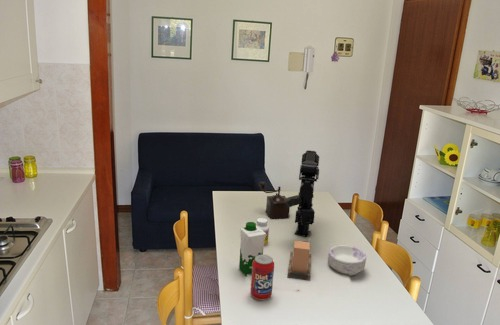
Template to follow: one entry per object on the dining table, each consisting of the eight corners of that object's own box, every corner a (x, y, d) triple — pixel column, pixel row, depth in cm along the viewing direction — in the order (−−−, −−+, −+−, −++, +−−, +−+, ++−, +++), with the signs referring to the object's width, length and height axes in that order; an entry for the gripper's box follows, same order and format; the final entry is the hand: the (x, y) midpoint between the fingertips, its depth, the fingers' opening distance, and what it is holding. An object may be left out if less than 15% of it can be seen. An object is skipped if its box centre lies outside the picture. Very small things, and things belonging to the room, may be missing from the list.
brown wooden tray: (289, 258, 178) (290, 251, 177) (310, 261, 177) (311, 254, 176) (286, 280, 161) (287, 272, 160) (309, 284, 160) (310, 275, 159)
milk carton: (254, 264, 172) (258, 220, 167) (265, 274, 165) (269, 229, 159) (235, 268, 168) (238, 223, 163) (245, 279, 161) (248, 232, 155)
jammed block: (292, 267, 169) (294, 240, 165) (306, 269, 168) (309, 242, 164) (291, 274, 163) (293, 247, 160) (306, 277, 162) (309, 249, 159)
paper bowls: (319, 263, 176) (321, 247, 174) (349, 258, 182) (351, 242, 180) (340, 282, 162) (343, 265, 160) (371, 276, 168) (374, 259, 166)
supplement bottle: (266, 250, 184) (268, 224, 180) (251, 248, 185) (253, 222, 182) (268, 243, 190) (270, 218, 187) (254, 241, 191) (256, 216, 188)
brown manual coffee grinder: (282, 210, 229) (285, 180, 224) (289, 218, 219) (292, 187, 214) (255, 211, 226) (258, 180, 221) (261, 220, 215) (263, 187, 210)
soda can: (259, 286, 156) (261, 251, 152) (275, 295, 152) (279, 258, 148) (245, 295, 151) (248, 258, 146) (262, 304, 146) (265, 266, 142)
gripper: (287, 184, 190) (283, 216, 193) (289, 195, 171) (286, 231, 175) (311, 186, 190) (307, 218, 193) (316, 197, 171) (312, 233, 174)
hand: (303, 225), depth 184 cm, fingers closed
